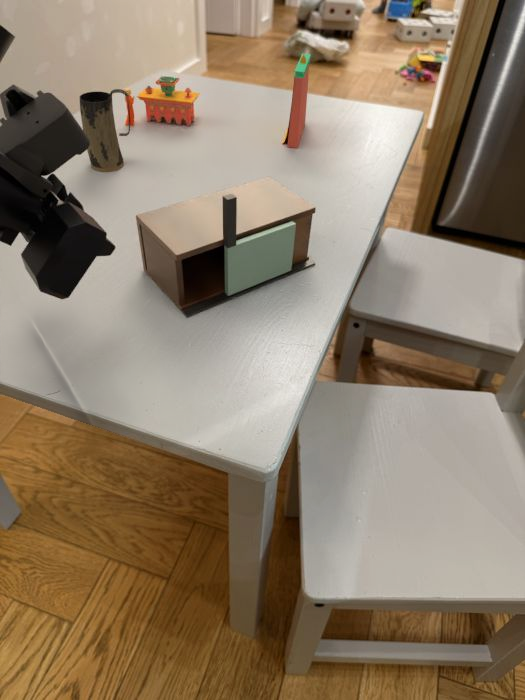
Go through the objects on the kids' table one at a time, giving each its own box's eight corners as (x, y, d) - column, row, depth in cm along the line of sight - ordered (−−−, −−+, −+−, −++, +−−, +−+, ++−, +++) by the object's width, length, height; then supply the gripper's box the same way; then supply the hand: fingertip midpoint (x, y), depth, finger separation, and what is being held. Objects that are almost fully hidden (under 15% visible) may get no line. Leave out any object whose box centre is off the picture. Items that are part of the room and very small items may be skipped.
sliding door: (227, 297, 61) (227, 200, 52) (223, 292, 62) (222, 196, 53) (291, 270, 66) (301, 177, 57) (287, 267, 66) (296, 173, 57)
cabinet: (186, 317, 59) (182, 261, 53) (143, 270, 65) (135, 215, 60) (315, 264, 68) (322, 211, 62) (266, 227, 74) (269, 176, 68)
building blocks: (297, 148, 95) (305, 65, 85) (122, 127, 98) (109, 45, 88) (305, 123, 104) (312, 46, 94) (143, 105, 107) (134, 29, 97)
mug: (88, 171, 84) (72, 96, 76) (92, 157, 88) (77, 84, 80) (136, 171, 85) (125, 96, 77) (138, 157, 89) (128, 84, 80)
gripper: (45, 106, 29) (212, 224, 41) (-37, 31, 39) (117, 144, 52) (-51, 262, 31) (137, 329, 43) (-105, 151, 41) (59, 231, 54)
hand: (111, 249), depth 48 cm, fingers closed
